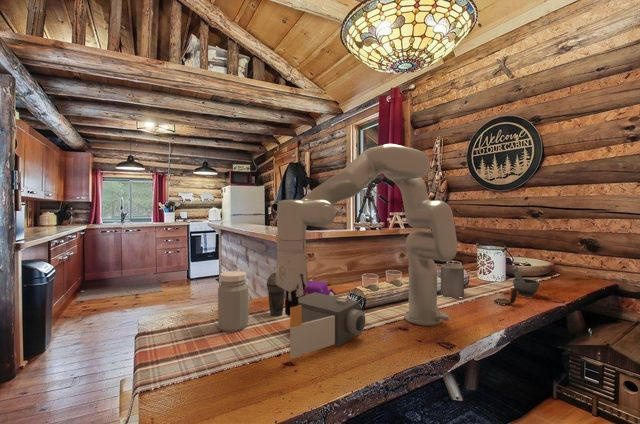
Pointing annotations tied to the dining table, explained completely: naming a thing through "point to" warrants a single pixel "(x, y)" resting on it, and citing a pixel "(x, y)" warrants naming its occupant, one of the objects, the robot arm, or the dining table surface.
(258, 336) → the dining table surface
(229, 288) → the jar
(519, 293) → the mortar and pestle
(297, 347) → the door
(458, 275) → the grey canister
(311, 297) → the camera body
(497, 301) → the compass
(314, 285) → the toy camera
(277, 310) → the beverage cup
